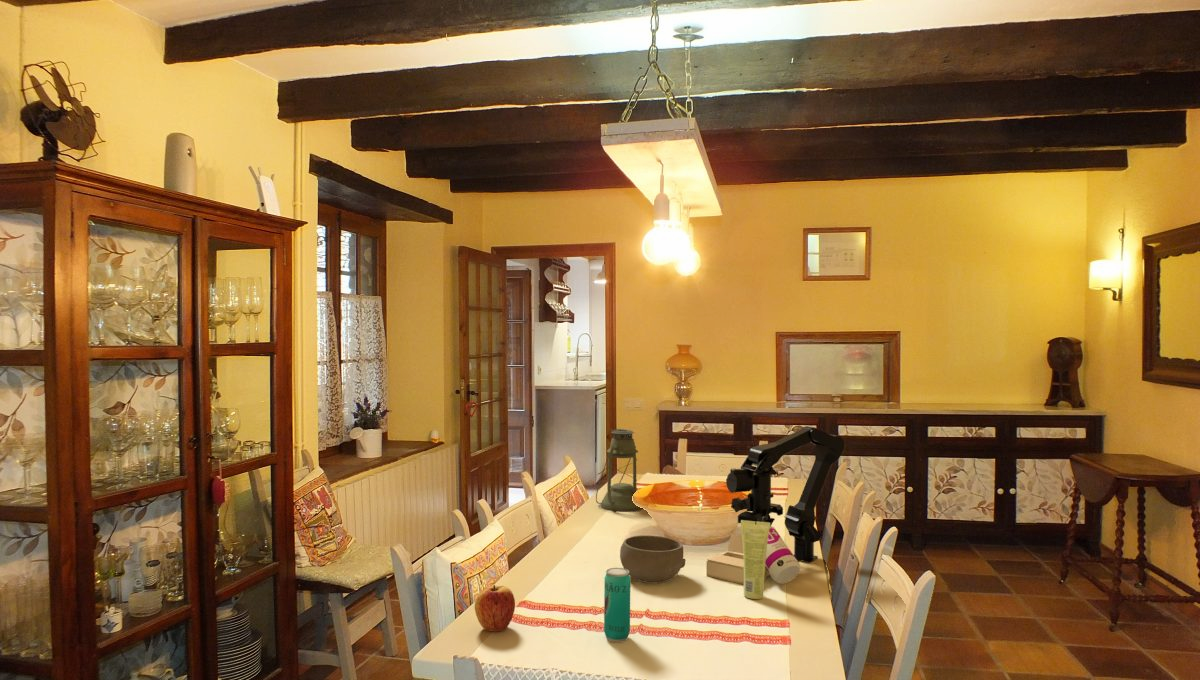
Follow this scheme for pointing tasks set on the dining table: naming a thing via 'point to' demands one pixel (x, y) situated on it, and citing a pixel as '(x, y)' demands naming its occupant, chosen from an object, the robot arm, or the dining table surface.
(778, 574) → the supplement can
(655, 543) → the bowl
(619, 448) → the lantern
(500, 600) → the apple
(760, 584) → the tube
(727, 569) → the carton
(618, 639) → the beverage can
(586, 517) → the dining table surface
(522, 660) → the dining table surface
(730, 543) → the flap
